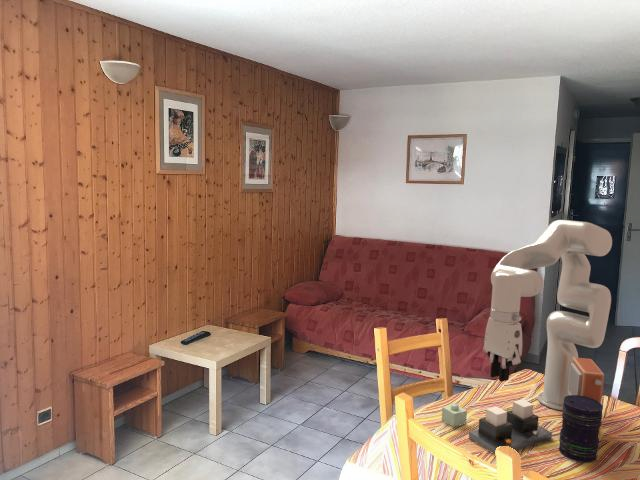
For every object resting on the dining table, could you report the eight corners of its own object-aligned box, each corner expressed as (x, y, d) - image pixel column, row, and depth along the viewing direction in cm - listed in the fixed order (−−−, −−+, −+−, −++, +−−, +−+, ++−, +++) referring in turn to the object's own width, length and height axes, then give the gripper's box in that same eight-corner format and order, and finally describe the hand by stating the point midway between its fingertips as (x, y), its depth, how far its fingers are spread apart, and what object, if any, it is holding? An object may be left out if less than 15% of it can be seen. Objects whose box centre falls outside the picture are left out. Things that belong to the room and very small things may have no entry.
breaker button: (521, 414, 160) (522, 399, 160) (531, 420, 157) (533, 404, 156) (511, 417, 158) (513, 401, 158) (522, 423, 155) (524, 407, 154)
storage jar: (592, 446, 152) (597, 397, 149) (602, 465, 142) (608, 413, 140) (554, 441, 154) (559, 393, 152) (562, 459, 144) (567, 408, 142)
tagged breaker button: (494, 422, 155) (496, 406, 154) (505, 428, 152) (507, 412, 151) (485, 425, 153) (486, 408, 152) (495, 431, 150) (497, 414, 149)
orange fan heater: (585, 423, 166) (600, 447, 151) (561, 420, 167) (574, 444, 153) (592, 357, 163) (608, 376, 148) (568, 355, 164) (581, 373, 150)
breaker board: (521, 422, 165) (522, 404, 164) (551, 438, 155) (553, 419, 154) (468, 438, 154) (470, 418, 153) (497, 456, 145) (499, 436, 144)
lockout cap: (454, 416, 167) (455, 400, 167) (465, 424, 163) (467, 406, 162) (441, 420, 165) (442, 403, 164) (453, 427, 160) (454, 410, 160)
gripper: (537, 322, 143) (531, 387, 145) (492, 307, 157) (487, 366, 159) (518, 325, 139) (512, 391, 142) (473, 309, 153) (468, 370, 156)
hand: (499, 377), depth 150 cm, fingers closed
